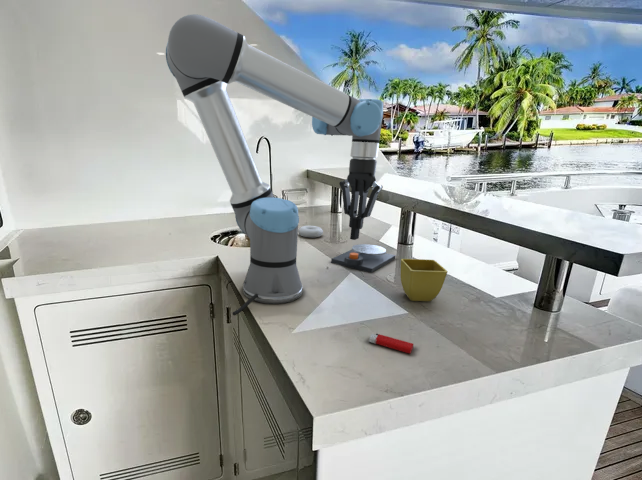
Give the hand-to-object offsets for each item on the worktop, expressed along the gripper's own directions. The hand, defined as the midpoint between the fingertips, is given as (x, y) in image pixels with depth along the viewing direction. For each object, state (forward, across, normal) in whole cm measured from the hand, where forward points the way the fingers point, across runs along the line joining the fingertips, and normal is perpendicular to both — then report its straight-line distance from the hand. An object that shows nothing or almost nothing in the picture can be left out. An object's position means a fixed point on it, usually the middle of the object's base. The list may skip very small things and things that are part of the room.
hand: (354, 238), depth 116 cm
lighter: (+10, -28, +37) cm, 48 cm away
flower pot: (+9, -24, +10) cm, 28 cm away
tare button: (+6, 0, 0) cm, 6 cm away
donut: (+9, +31, -23) cm, 39 cm away
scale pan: (+6, 0, -11) cm, 12 cm away
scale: (+9, 0, -8) cm, 12 cm away
